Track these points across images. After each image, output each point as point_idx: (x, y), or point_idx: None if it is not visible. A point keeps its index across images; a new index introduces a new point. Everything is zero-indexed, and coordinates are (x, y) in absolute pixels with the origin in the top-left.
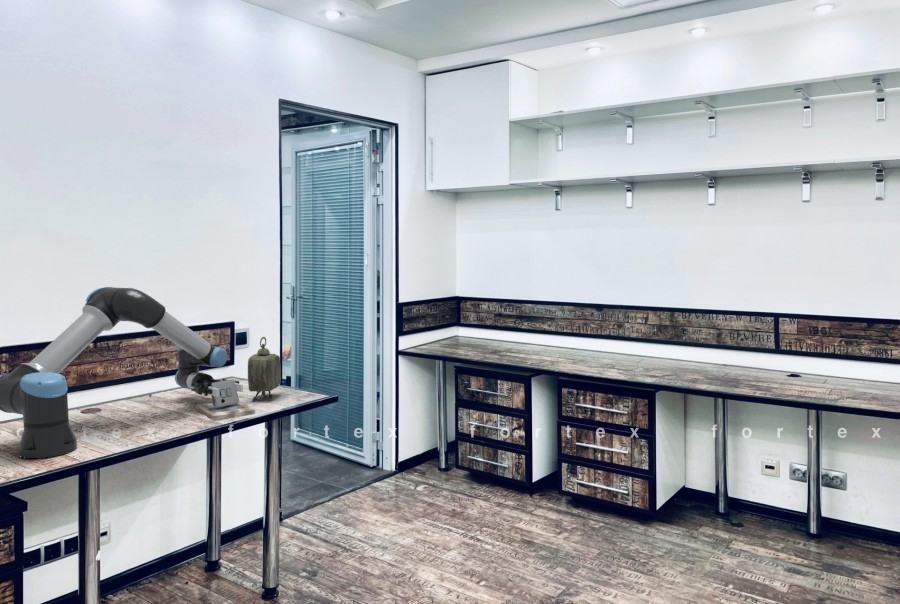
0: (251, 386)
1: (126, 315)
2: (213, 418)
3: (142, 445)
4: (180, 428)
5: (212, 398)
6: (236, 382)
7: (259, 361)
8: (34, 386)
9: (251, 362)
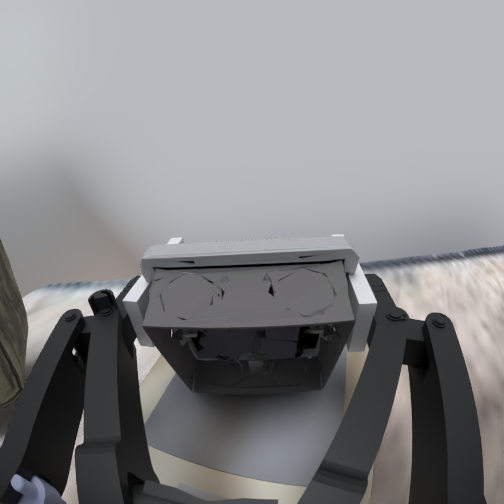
0: (16, 357)
1: None
2: None
3: (499, 255)
4: (460, 298)
5: (331, 366)
6: (83, 321)
7: None
8: None
9: None
